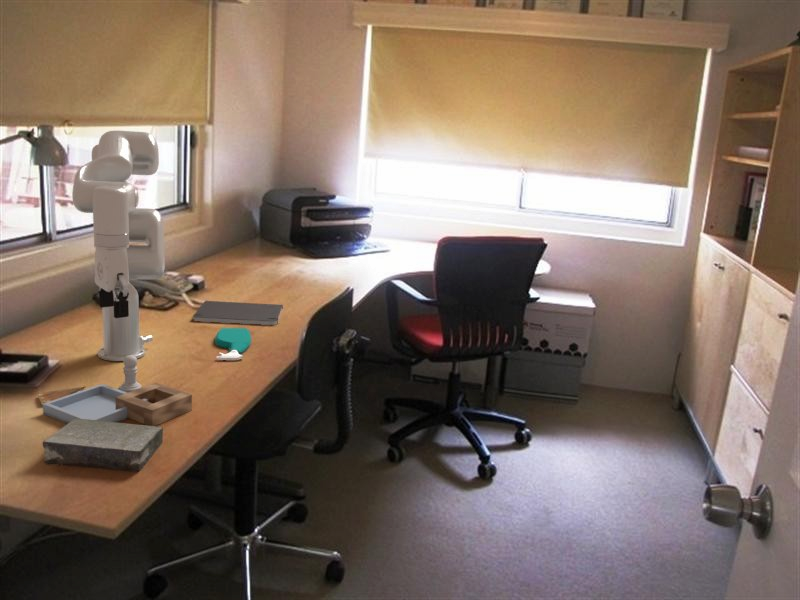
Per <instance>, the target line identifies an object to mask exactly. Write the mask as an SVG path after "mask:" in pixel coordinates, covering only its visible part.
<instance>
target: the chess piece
mask: <svg viewBox="0 0 800 600" xmlns="http://www.w3.org/2000/svg"><path fill="white" fill-rule="evenodd" d="M122 362H123V365H124V367H123V374H124V382H122V384H120V385H119V386H118V390H121V391H124V392H127V393H129V392H131V391H134V390H137V389H140V388H142V387H143V385H142V384H141V383H139V382H138V381H137V373H138V367H137V364H138V358H136V357H135V356H133V355H128V356H126V357H125V358H124V361H122Z"/></svg>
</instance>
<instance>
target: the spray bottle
mask: <svg viewBox="0 0 800 600" xmlns="http://www.w3.org/2000/svg"><path fill="white" fill-rule="evenodd" d="M214 342H215V346H217V347H219V346H220V348H222V347H224V348H223V349H226V348H230V349H227V350H228V351H227V353H223V352H221V351H220V352H219V353H218V355H220V356H215V357H216V358H215V360H216V361H223V360H226V361H239V360H238V359H242V358H244V357H243V355H242V354H243V353H245V351H247V350H248V349H249V348H250V346H251V344H252V335H251V332H250V331H249V329H247V328H245V327H242V328H241V327H240V328H239V327H223V328H221V329H219V331H217V333H216V335H215V337H214Z"/></svg>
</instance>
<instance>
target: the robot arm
mask: <svg viewBox="0 0 800 600" xmlns="http://www.w3.org/2000/svg"><path fill="white" fill-rule="evenodd" d="M159 156H160V155H159V146H158V142H157V140H156V138H155V137H154V135H152V134H151V133H150V132H146V131H145V132H144V131H131V130H109V131H106V132H105V133H103V134H102V135H101V137H100V138H99V141H98V143H97V144H95V145H94V146H93V147H92V149H91V161H89V162H87V163H85V164H84V165H82V166H81V167H80V168H79V169H78V170H77V171H76V173H75V176H74V178H73V179H74V180H73V186H72V198H71V199H72V202H73V205H74V207H75V208H76V210H77V211H79V212H81V213H84V214H92V221H93V225H92V227H93V244H94V245H93V247H94V248H95V251H94V253H95V254H94V283H95V284H96V286H98V294H99V295H98V298H99V299H98V301H99V303H98V304H99V307H100V308H101V309H102V311H101V312H102V333H103V334H102V335H103V336H102V337H103V347H101V348H99V349H98V350H97V357H99V358H100V359H102V360H105V361H109V362H110V361H111V362H123V361H124V358H125V357H126V356H128V355H133V356H135V357H136V358H137V359H139V358H142V357H143V356H145V354H146V348H145V347H144V344H148V343H151V342H152V341H153V339H154V338H153V336H152V335H150V334H149V335H145V336H144V337H143V335H140V311H139V309H140V307H139V306H140V305H139V304H140V303H139V301H140V300H139V299H140V298H139V294H138V291H137V289H136V288H135V287H134V285H132V283H130V281H133V280H157V279H160V278H162V277H163V276H164V274H165V273H164V272H165V269H166V268H165V267H166V265H165V264H166V263H165V262H166V259H165V227H164V220H163V216H162V214H161V212H160V211H158V210H157V209H154V208H145V207H144V208H141V207H140V208H138V206H139V199H140V197H139V191H138V190H137V189H136V187H135V186H134V185H133V184H132V183H130V182H128V181H127V180H129V178H130V177H131V175H134V176H135V175H136V176H152V175H155V174H156V173H157V171H158V169H159V164H160V163H159V162H160V161H159V160H160V159H159ZM130 243H144V244H145V245H144V244H140V245H135V244H134V245H133V244H130Z"/></svg>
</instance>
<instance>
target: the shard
mask: <svg viewBox="0 0 800 600" xmlns="http://www.w3.org/2000/svg"><path fill="white" fill-rule="evenodd" d="M85 389H87V388H86V386H79V387H74V388H64V389H57V390H51V391H45V392H44V391H43V392H40V393H39V394H38V395H37V397H38V400H39V401H40V404H41V406H42V407H43V404H44V403H47V402H50V401H53V400H56V399H59V398H62V397H65V396H67V395H70V394H73V393H76V392H79V391H82V390H85Z"/></svg>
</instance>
